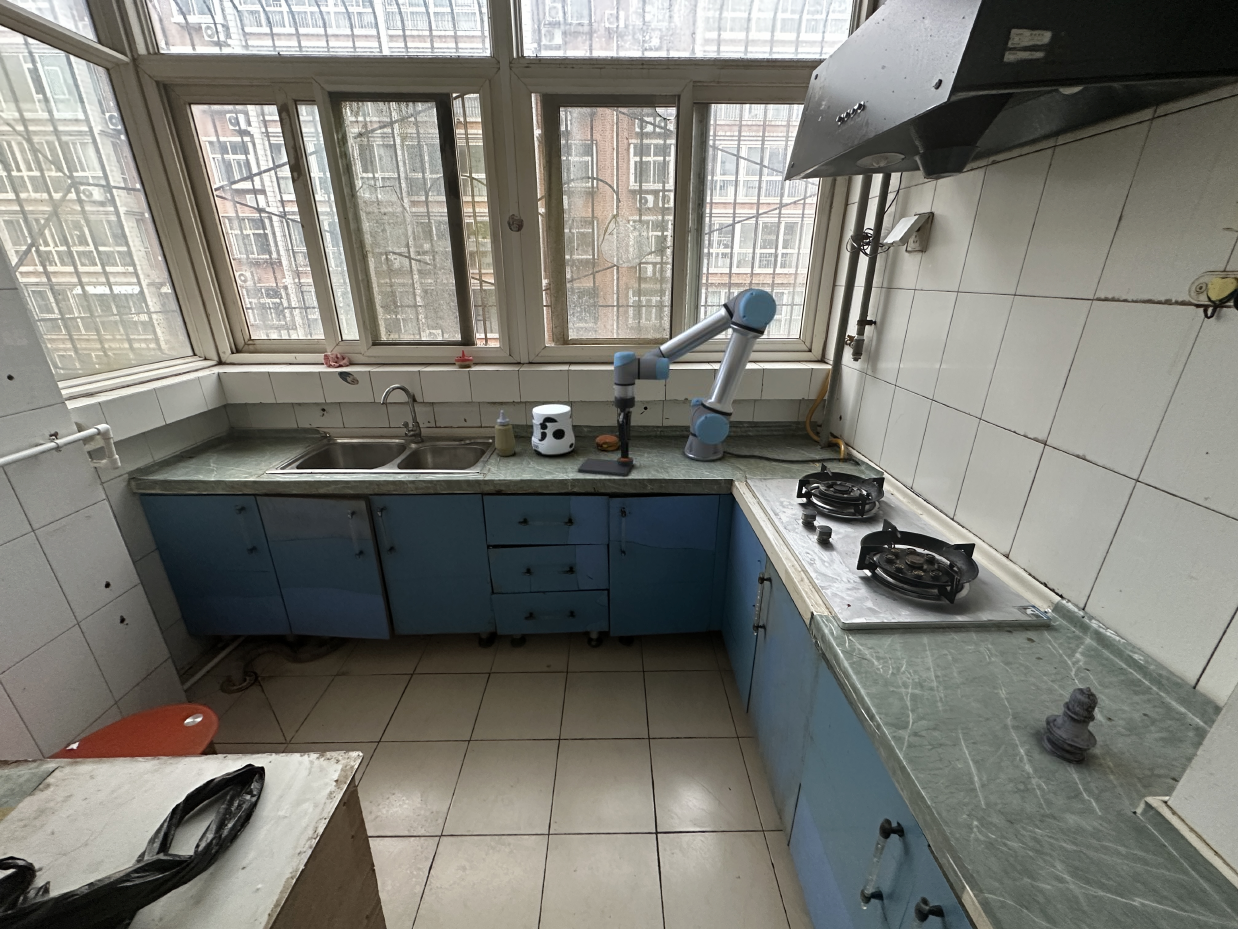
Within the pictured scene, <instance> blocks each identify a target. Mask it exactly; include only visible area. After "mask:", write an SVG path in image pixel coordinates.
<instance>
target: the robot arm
mask: <svg viewBox="0 0 1238 929" xmlns="http://www.w3.org/2000/svg"><path fill="white" fill-rule="evenodd" d="M776 314H777V302H776V299H775V297H774V296H773V295H772V294H771V293H770V292H768V291H767V290H765V289H761V288H753V287H752V288H746V289H743V290H741V291H740V292H739V293H737V294H736V295H734V296H733V297H732V298H730V299H728V300H727V301H725V303H723V304H721V305H720V308H719V309H718V310H717V311H715V312H713V313H712V314H710V315H709V316H707V317H706V318H704V319H702V320H700V321H699V322H697V323H696V324H694V325H692V326H691V327H689V328H687V329H686V330H684V331H683V332H681V333H679V334H677V335H676V336H674V337H673V338H671V339H670V340H668V341H666V342H665V343H663V344H661V345H660V346H658V347H657V348H655V349H653V350H649V351H648V352H646V353H645V354H644V355H643V357H637V356H636V353H635V352H633V351H618V352H616V353H615V354H614V356H613V386H612V389H613V390H614V392H613V393H614V398H613V399H614V400H613V402H614V403H613V404H614V405H613V406H614V407H615V408H616V409H619V412H618V413H617V415H618V416H617V417H618V418H617V419H616V422H617V429H618V442H619V443H620V457H621V458H625V459H628V458H629V457H630V449H629V448H630V441H632V438H631V429H632V428H631V427H632V415H633V411H632V410H631V409H633V408H635V406H636V396H635V395H636V380H639V381H645V380H646V381H648V380H649V381H665V380H668V379H669V378H670V369H671V367H670V365H671V364H672V363H674V362H675V361H677V360H680V358H683V357H684V356H686V355H688V354H689V353H691V352H693V351H695V350H696V349H697V348H699V347H702V346H703V345H704V344H706V343H708V342H709V341H711V340H712V339H714V338H716V337H718V336H719V335H721V334H723V333H725V332H726V331H728V330H729V329H731V331H732V332H731V334H730V337H729V340H728V342H727V345H726V349H725V351H724V354H723V356H722V359H721V362H720V364H719V367H718V370H717V372H716V375H715V377H714V381H713V382H712V386H711V389H710V391H709V394H708V396H707V397H695V398H692V399H691V402H690V403H691V404H690V422H689V423H690V424H689V436H688V439H687V442H686V445H685V448H684V456H685V457H686V458H688V459H691V460H695V461H701V462H714V461H718V460H720V459H722V458H723V457H724V455H729V456H733V457H736V458H737V457H738V458H755V459H761V460H762V459H763V460H767V461H773V462H778V463H779V462H780V463H791V464H793V463H796V464H797V463H798V464H799V463H801V464H802V463H804V464H805V463H820V462H828V461H836V462H838V461H849V462H852V463H854V464H856V465H857V466H861V463H860V462H859V461H858V460H856V459H855V458H851V457H824V458H813V459H786V458H785V459H784V458H775V457H769V456H764V455H760V454H759V455H758V454H743V453H742V454H741V453H734V452H731V451H726V450H724V448H723V444H722V442H723V441H724V440H725V439H727V436H728V435H729V432H730V421H731V418H732V415H733V414H734V409H733V407H732V404H733V401H734V399H735V396H736V394H737V391H738V389H739V387H740V383H741V381H742V378H743V376H744V373H745V371H746V368H747V366H748V363H749V360H750V358H751V355H752V353H753V351H754V348H755V345H756V343H757V340H759V339H760V338H762V337H763V336H764V335H765V333H766V331H767V328H768V325H770V323H772V321H773V320H774V319H775V316H776Z"/></svg>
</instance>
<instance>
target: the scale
mask: <svg viewBox="0 0 1238 929" xmlns="http://www.w3.org/2000/svg"><path fill="white" fill-rule="evenodd" d="M633 466H634V458H633V457H632V456H629V460H627V461H623V460H621V456H619V457H617V459H604V458H592V457H587V459H586V460H585V461H584V462H583V463H582V464H581V466H579V467H578V469H577V472H578V473H585V474H595V475H607V476H619V477H626V476H627V475H628V473H629V472H630V470H631V469H632V467H633Z"/></svg>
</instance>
